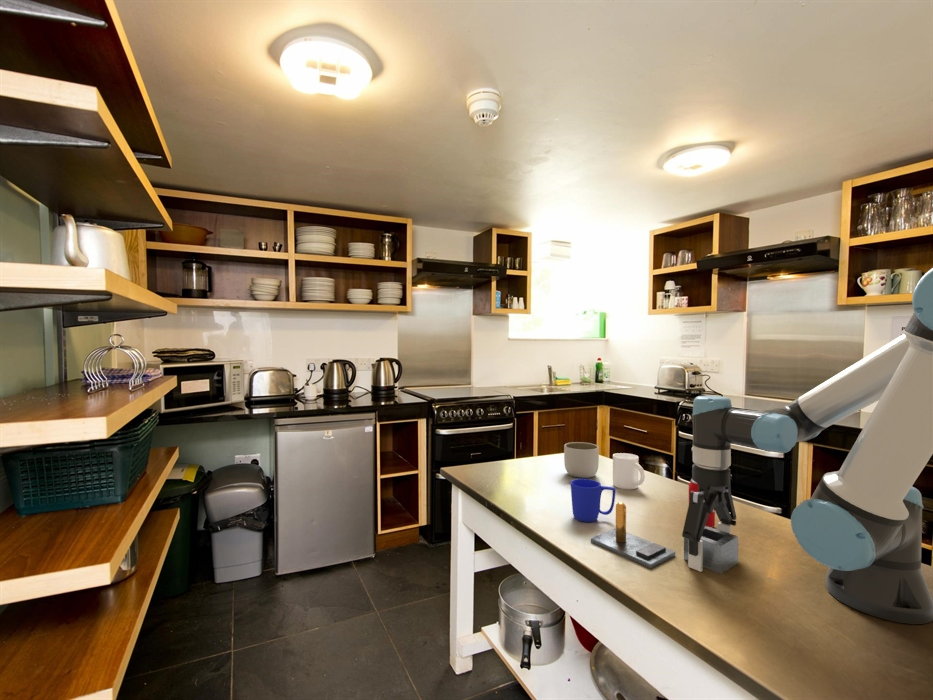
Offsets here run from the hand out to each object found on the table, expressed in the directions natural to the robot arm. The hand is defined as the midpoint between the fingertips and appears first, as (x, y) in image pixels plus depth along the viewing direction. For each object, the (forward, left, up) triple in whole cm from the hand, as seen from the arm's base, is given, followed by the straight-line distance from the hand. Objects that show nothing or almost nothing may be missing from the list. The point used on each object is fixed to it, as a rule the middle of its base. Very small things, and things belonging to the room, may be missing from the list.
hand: (710, 560), depth 100 cm
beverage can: (+11, -18, 0) cm, 21 cm away
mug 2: (+41, -30, 0) cm, 51 cm away
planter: (+60, -28, 0) cm, 66 cm away
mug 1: (+31, +2, 0) cm, 31 cm away
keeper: (+14, +9, 0) cm, 17 cm away
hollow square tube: (0, 0, 0) cm, 0 cm away
